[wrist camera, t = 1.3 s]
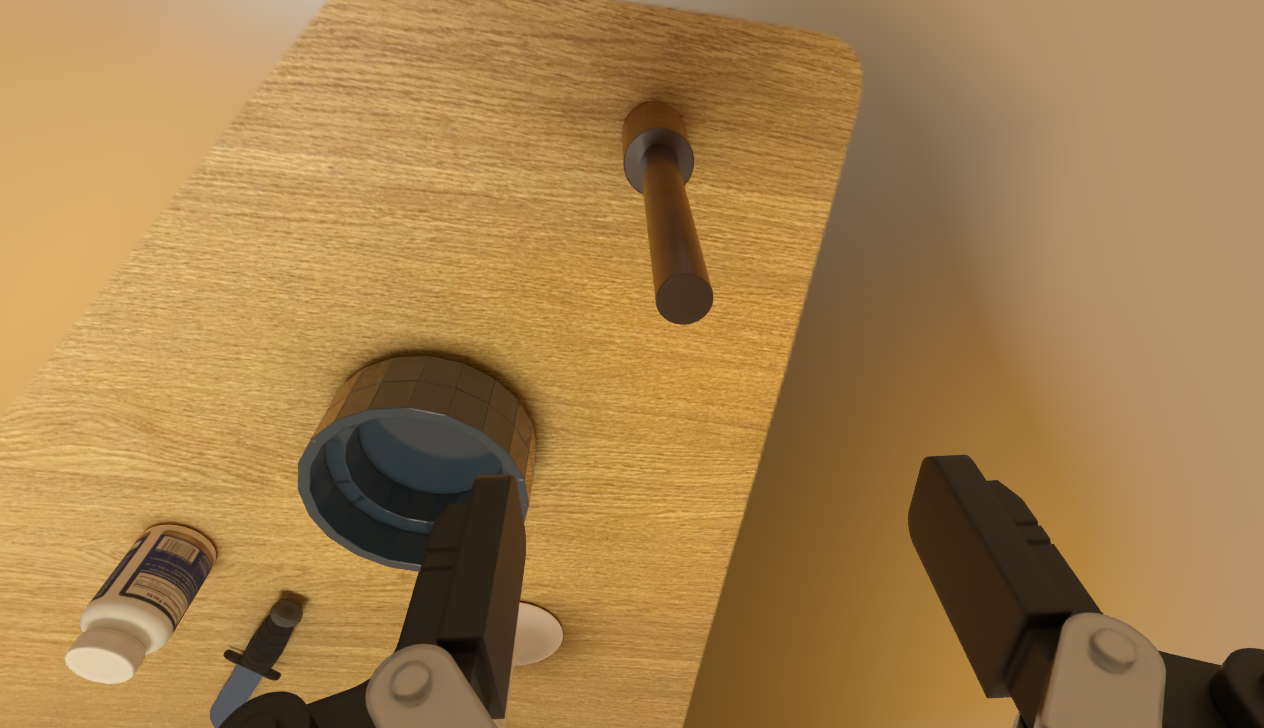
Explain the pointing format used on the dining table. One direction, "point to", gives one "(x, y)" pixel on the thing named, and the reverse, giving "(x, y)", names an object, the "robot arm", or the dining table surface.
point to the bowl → (410, 454)
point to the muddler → (667, 209)
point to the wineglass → (532, 641)
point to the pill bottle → (140, 603)
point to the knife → (256, 659)
